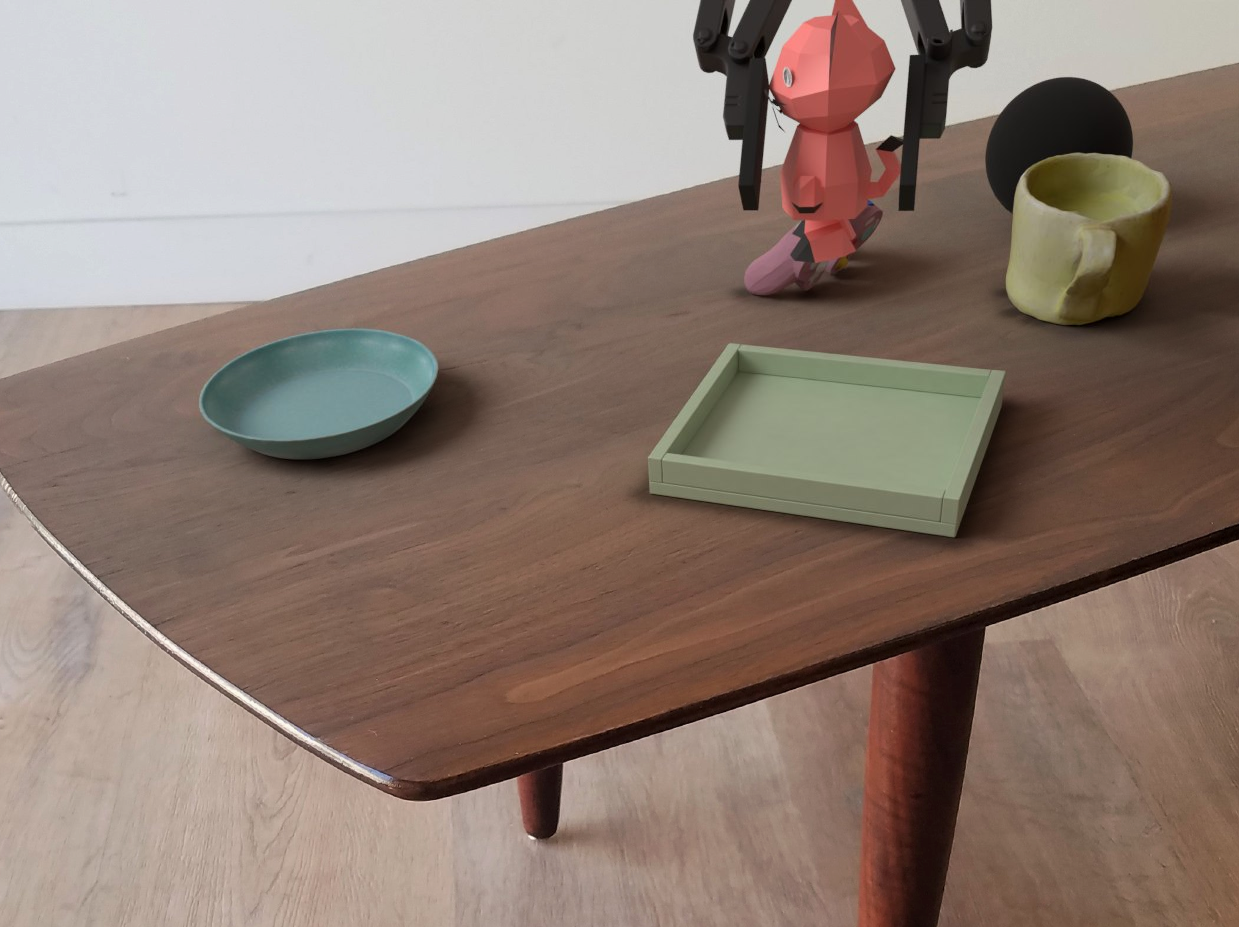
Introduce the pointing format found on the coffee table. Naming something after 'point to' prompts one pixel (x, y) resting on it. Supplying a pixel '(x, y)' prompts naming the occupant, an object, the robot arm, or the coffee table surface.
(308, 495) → the coffee table surface
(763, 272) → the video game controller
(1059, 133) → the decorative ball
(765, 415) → the sage green tray
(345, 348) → the saucer
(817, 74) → the cat figurine
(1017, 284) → the mug
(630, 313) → the coffee table surface
